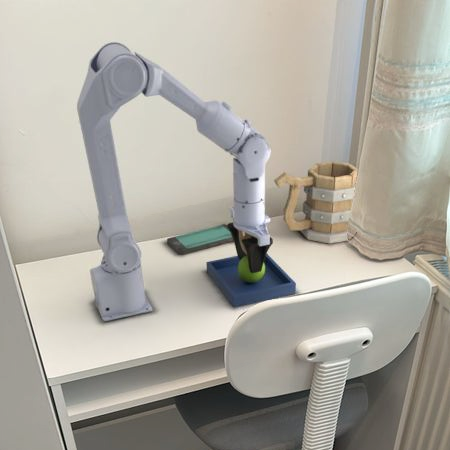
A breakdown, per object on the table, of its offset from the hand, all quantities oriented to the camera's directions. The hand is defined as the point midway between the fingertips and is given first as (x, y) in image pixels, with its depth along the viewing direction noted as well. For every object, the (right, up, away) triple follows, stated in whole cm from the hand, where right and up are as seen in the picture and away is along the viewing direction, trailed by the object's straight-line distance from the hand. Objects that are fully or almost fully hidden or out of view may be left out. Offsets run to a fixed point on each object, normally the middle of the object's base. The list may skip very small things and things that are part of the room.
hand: (249, 264), depth 125 cm
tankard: (+15, +11, +19) cm, 27 cm away
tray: (0, -3, +2) cm, 4 cm away
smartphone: (-10, +9, +18) cm, 22 cm away
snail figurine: (0, -3, +2) cm, 4 cm away
